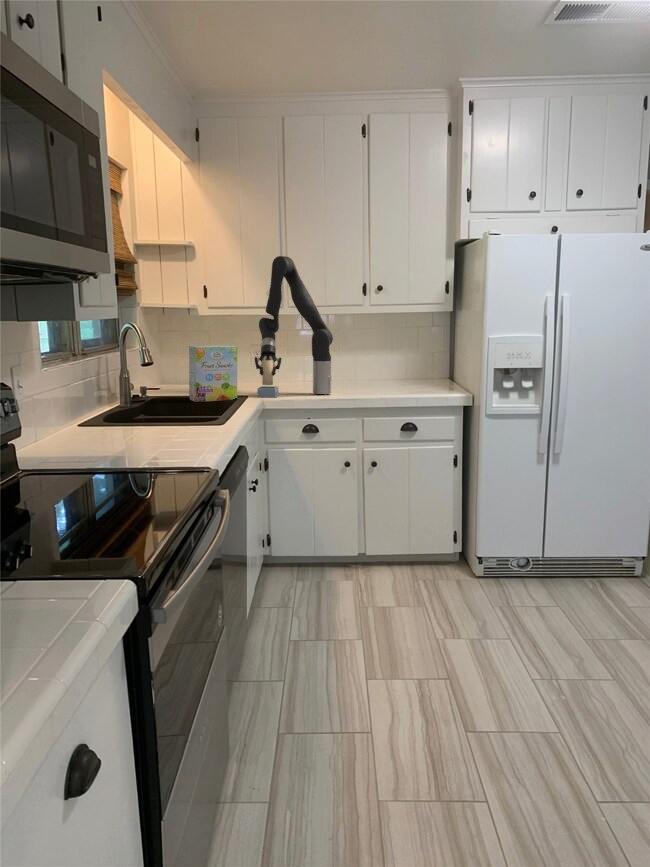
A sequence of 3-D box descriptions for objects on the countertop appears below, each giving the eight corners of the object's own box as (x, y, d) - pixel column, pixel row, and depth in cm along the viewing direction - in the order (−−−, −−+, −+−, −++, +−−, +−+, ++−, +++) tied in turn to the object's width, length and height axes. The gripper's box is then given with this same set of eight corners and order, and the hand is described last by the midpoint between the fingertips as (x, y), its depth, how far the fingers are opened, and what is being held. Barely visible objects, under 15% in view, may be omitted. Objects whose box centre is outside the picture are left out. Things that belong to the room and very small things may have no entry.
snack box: (195, 402, 285) (194, 346, 280) (188, 400, 292) (187, 345, 287) (238, 399, 297) (237, 345, 292) (231, 397, 304) (230, 344, 299)
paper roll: (273, 384, 311) (273, 360, 309) (271, 385, 306) (271, 360, 304) (263, 383, 312) (263, 359, 309) (261, 384, 307) (261, 360, 304)
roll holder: (279, 395, 314) (279, 386, 313) (276, 397, 305) (276, 388, 304) (260, 395, 315) (260, 386, 314) (256, 397, 306) (256, 388, 305)
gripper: (253, 343, 312) (252, 369, 302) (282, 344, 313) (282, 370, 303) (254, 353, 318) (253, 379, 309) (282, 353, 319) (282, 379, 310)
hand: (267, 374), depth 306 cm, fingers closed on paper roll, 5 cm apart
